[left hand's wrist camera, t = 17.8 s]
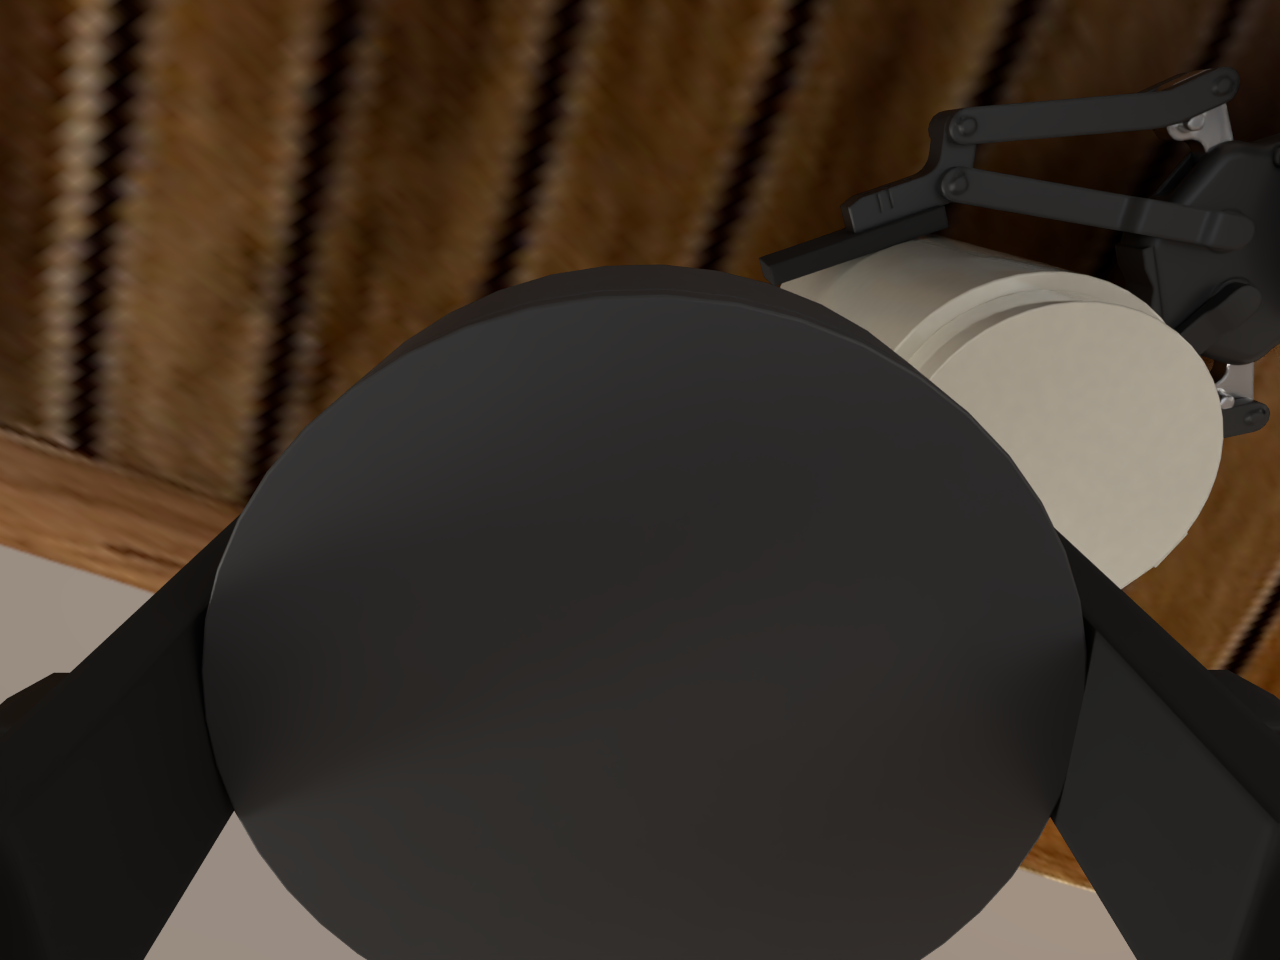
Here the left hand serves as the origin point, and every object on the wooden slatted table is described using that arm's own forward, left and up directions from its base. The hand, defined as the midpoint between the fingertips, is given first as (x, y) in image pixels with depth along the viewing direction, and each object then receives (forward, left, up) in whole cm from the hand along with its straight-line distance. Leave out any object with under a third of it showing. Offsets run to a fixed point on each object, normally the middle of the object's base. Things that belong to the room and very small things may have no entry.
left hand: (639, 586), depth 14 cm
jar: (-2, +11, -28) cm, 30 cm away
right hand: (+1, +7, -22) cm, 23 cm away
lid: (0, 0, +3) cm, 3 cm away
